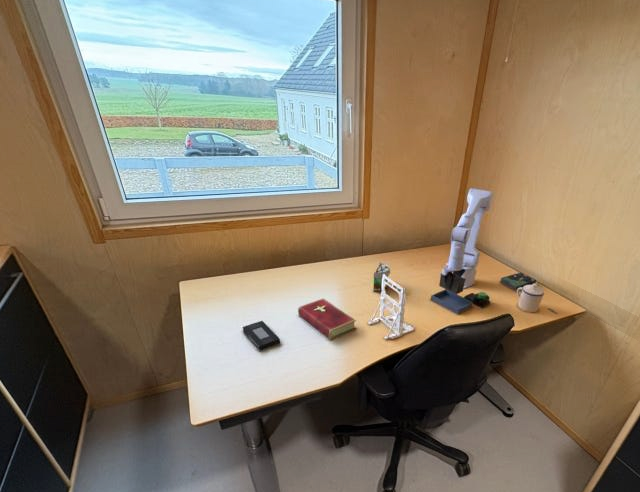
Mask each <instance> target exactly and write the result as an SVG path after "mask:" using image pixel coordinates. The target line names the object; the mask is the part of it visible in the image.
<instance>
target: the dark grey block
mask: <svg viewBox="0 0 640 492" xmlns="http://www.w3.org/2000/svg"><path fill="white" fill-rule="evenodd" d="M454 275H456V274H454ZM465 280H466V279H465V278H462V277H460V276H458V275H456V276H455V277H454V279H453V281H452V284H451V287H450V288H447V287H446V286H445V279H444V276H443V274H441V273H440V278H439V283H438V284H439V285H438V286H439V287H440V288H442V289H443V290H445V289H446V290H448V291H451V292H453V293H455V294H457V295H459V294H460V293H463V292H464V289H465V288H464V283H465Z"/></svg>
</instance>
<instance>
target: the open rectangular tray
mask: <svg viewBox="0 0 640 492" xmlns="http://www.w3.org/2000/svg"><path fill="white" fill-rule="evenodd" d="M430 302H433V303H435V304H437V305H439V306H441V307H442V308H444V309H446V310H448V311H450V312H452V313H454V314H456V315H460V314H461V313H463V312H465V311H466V312H467V310H469V309H471V308H473V306H474V304H473V302H471V301H469V300H467V299H465V298H464V297H463V296H461V295H459V294H455V293H453V292H451V291H448V290H446V289H443V290H440V291H438V292H436V293H434V294H432V295H430Z"/></svg>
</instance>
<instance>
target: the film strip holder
mask: <svg viewBox="0 0 640 492" xmlns="http://www.w3.org/2000/svg"><path fill="white" fill-rule="evenodd" d="M385 279H386V280H388V281H387V282H386V281H385ZM390 283H391V284H390ZM386 284H387V286H388V287H389V288H391V289H392V290H394V291H395V292H396V293H397V294H398V297H399V301H398V302H397V301H396V300H395V299H393V297H391V296H389V295H388V294H387V292H386V290H385V286H386ZM394 286H395V287H396V288H395V287H394ZM406 298H407V295H406V288H405V287H402V286H401V285H400V284H398V283H397V282H395V281H394V280H392V278H390V277H389V276H388V277H387V276H385V274H383V278H382V292H380V297H379V300H380V301H379V303H378V305H377V307H376V309H375V310H374V313H373V315H372V317H371V319H370V321H368V322H367V323H368V325H369V326H370V325H371V326H372V325H374V324H377V323H379V322H380V321H381V322H382V323H383V324H384V325H385V326H386V327H387V328H389V331H388V333H387V335H385V336H384V340H385V341H386V340H389V339H391V340H394V339H397V338H399V337H402V336H403V335H405V334H408V333H411V332H414V331H415V329H414V327H413V326H412V325H411V324H407V322H404V323H403V321H404V318H405V317H404V316H405V309H404V307H405V306H406ZM385 299H386V300H387V302H386V301H385ZM390 303H391V304H392V307H391V304H390ZM396 308H397V311H396ZM385 309H386V310H387V311H388V312H389V313H391V314H390V315H387V316H385V312H384V310H385ZM378 310H379V317H376V314H377V312H378ZM391 319H392V320H391ZM403 329H404V331H403ZM392 332H393V333H392ZM391 333H392V334H391Z"/></svg>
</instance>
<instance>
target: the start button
mask: <svg viewBox="0 0 640 492" xmlns="http://www.w3.org/2000/svg"><path fill="white" fill-rule="evenodd" d="M478 293H479V294H478V298H480V299H486V296H487V295H488V294H487V293H486V292H484V291H480V292H478Z"/></svg>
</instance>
